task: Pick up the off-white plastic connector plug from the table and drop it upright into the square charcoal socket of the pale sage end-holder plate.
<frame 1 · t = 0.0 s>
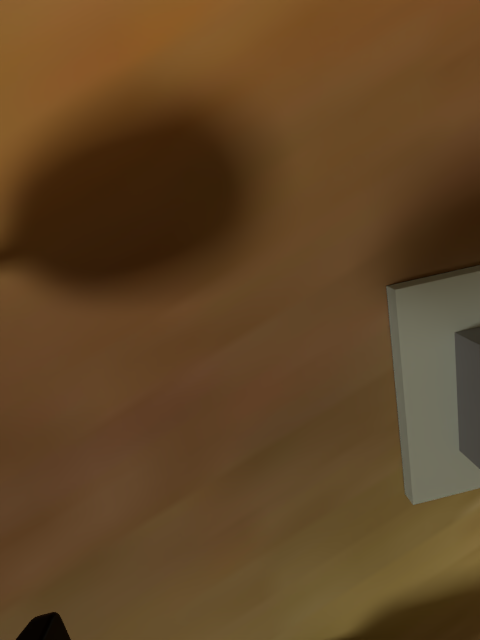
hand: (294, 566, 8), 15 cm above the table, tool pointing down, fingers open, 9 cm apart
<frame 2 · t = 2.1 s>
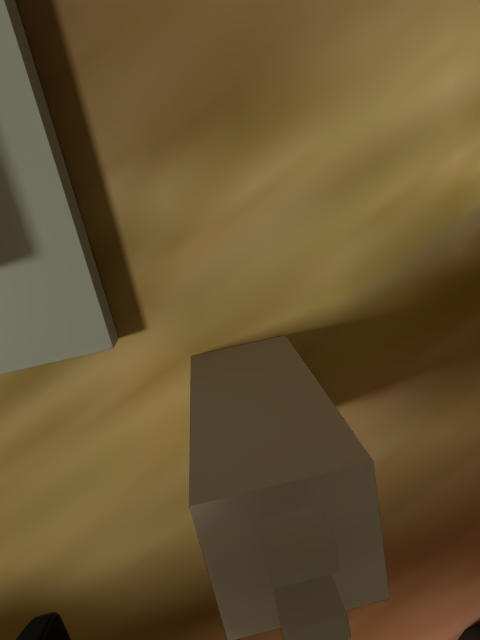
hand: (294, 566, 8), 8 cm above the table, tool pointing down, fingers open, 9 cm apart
connector plug: (247, 388, 15), on the table
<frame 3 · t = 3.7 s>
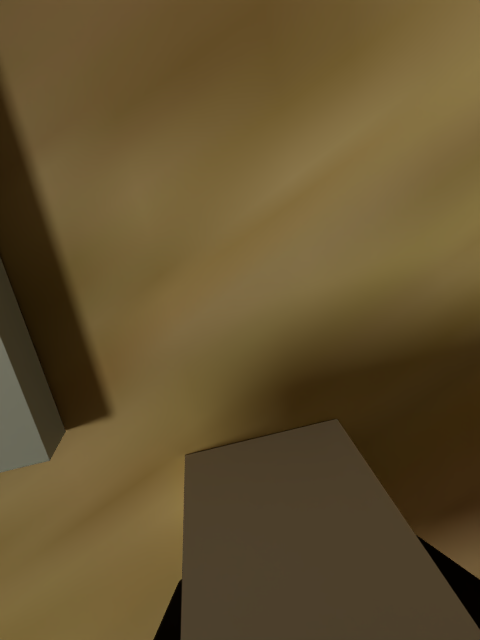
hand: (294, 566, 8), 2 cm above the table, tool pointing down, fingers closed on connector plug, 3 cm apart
connector plug: (274, 499, 10), on the table, touching gripper
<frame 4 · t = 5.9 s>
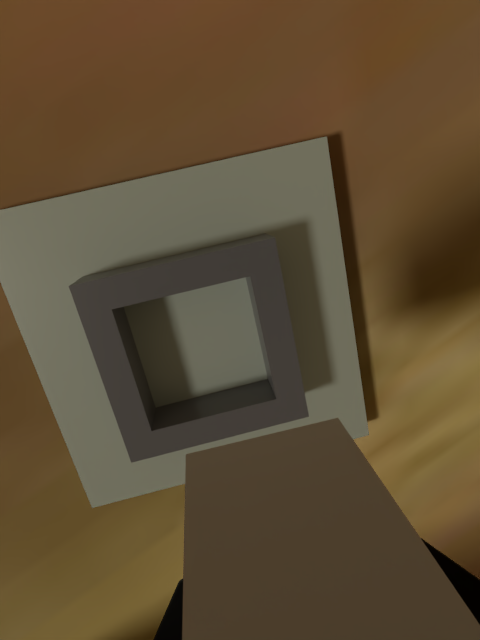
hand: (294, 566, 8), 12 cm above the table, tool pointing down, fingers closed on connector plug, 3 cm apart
end holder: (197, 333, 19), on the table
connector plug: (275, 498, 10), point 10 cm above the table, touching gripper
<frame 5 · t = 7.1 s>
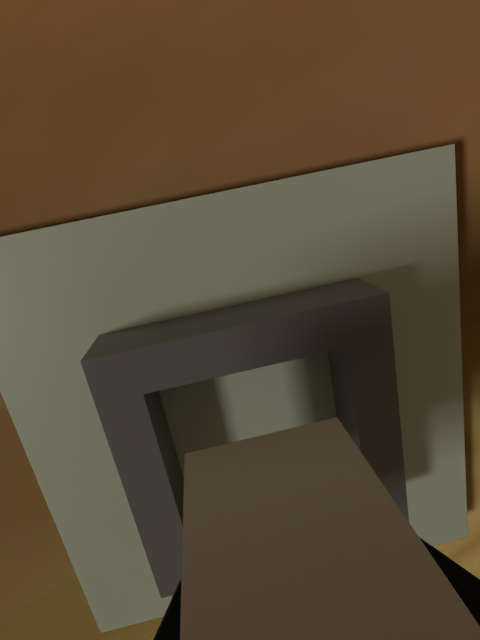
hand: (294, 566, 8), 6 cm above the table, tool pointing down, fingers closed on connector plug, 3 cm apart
end holder: (250, 405, 14), on the table
connector plug: (274, 498, 10), point 5 cm above the table, touching gripper
when the fingers open (4 cm above the table, at t = 8.2 s): connector plug drops 1 cm, resting on end holder.
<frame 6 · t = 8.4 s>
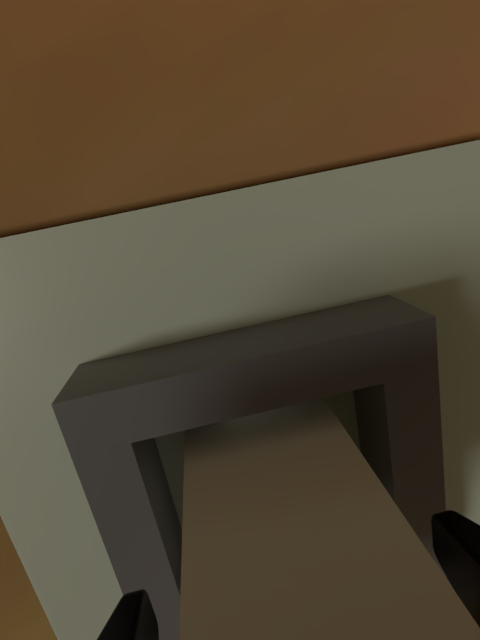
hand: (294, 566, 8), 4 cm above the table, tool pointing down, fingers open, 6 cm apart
end holder: (259, 440, 12), on the table
connector plug: (263, 460, 11), point 1 cm above the table, touching end holder
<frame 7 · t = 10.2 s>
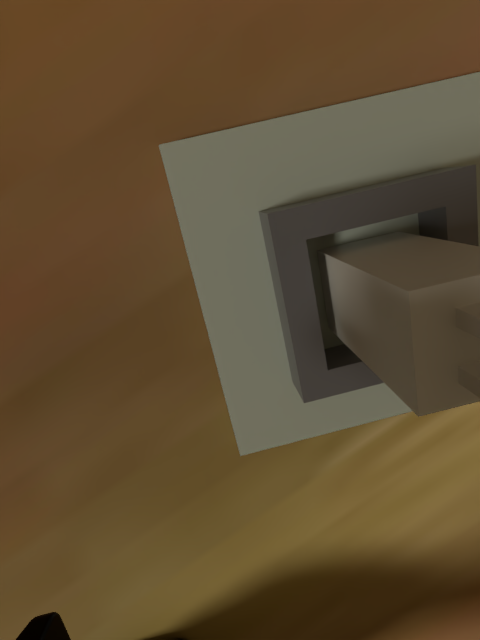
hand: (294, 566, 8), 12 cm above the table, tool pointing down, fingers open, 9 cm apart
end holder: (354, 276, 18), on the table
connector plug: (362, 281, 17), point 1 cm above the table, touching end holder
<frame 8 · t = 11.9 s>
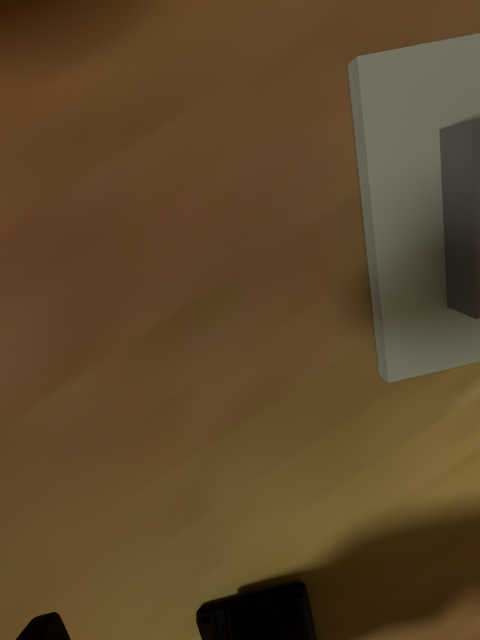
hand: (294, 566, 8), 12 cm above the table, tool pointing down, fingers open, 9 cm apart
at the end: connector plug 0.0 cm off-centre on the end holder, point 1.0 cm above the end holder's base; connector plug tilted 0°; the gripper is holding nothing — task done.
